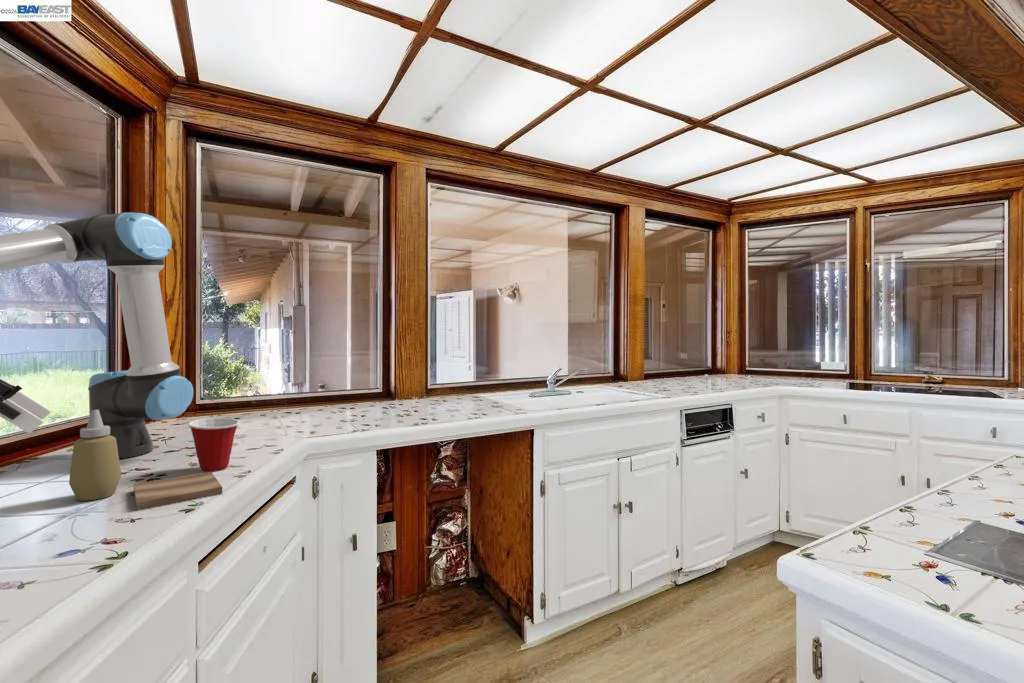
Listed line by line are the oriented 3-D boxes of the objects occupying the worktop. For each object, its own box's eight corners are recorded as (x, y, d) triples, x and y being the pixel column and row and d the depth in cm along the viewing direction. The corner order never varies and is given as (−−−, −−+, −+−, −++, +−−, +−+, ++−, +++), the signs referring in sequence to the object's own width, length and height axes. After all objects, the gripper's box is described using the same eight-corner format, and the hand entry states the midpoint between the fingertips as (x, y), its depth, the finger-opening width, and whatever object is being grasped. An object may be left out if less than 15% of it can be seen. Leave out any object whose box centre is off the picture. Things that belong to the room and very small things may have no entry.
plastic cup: (215, 476, 108) (215, 426, 108) (177, 473, 111) (176, 424, 110) (250, 463, 119) (250, 417, 119) (214, 461, 121) (214, 416, 121)
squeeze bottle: (76, 506, 89) (75, 415, 89) (63, 498, 94) (61, 411, 93) (128, 494, 96) (127, 409, 96) (113, 487, 101) (112, 405, 100)
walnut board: (133, 491, 98) (133, 484, 98) (211, 477, 108) (211, 471, 107) (136, 510, 88) (136, 502, 88) (222, 493, 97) (222, 486, 97)
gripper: (-85, 358, 87) (30, 427, 97) (-140, 366, 68) (10, 450, 78) (-43, 330, 90) (65, 399, 100) (-83, 330, 71) (54, 415, 82)
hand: (41, 422), depth 89 cm, fingers open, 13 cm apart
